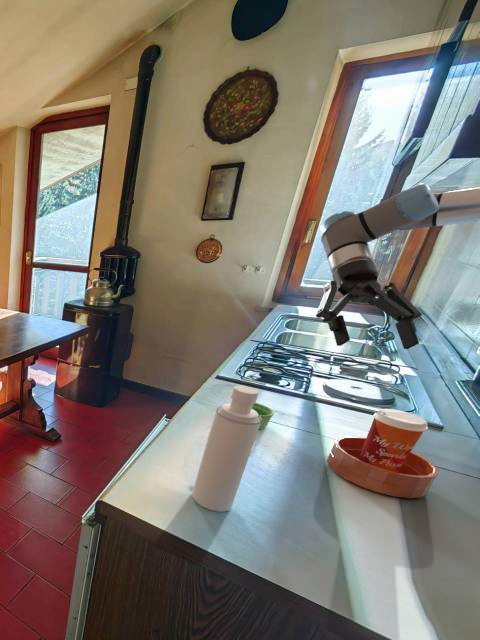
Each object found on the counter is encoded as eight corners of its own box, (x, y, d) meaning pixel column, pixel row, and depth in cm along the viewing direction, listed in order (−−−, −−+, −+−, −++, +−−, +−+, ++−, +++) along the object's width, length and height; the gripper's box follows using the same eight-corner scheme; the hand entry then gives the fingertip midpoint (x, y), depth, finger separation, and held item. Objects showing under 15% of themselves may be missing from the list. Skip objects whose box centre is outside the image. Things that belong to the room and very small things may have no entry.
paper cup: (355, 478, 81) (384, 419, 76) (343, 460, 87) (369, 404, 82) (406, 490, 78) (440, 429, 72) (390, 470, 84) (420, 412, 79)
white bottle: (235, 500, 75) (277, 381, 65) (225, 517, 71) (268, 392, 61) (197, 484, 79) (231, 370, 70) (186, 499, 75) (220, 380, 65)
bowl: (425, 479, 82) (438, 457, 80) (423, 511, 73) (438, 487, 71) (332, 449, 93) (341, 429, 91) (320, 474, 83) (329, 452, 81)
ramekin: (261, 434, 99) (266, 419, 97) (223, 420, 106) (227, 406, 104) (274, 424, 104) (279, 409, 102) (237, 412, 111) (241, 398, 109)
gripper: (395, 279, 97) (423, 355, 89) (286, 276, 100) (304, 349, 92) (425, 259, 90) (458, 339, 82) (307, 256, 93) (328, 333, 85)
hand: (377, 344), depth 87 cm, fingers open, 13 cm apart
